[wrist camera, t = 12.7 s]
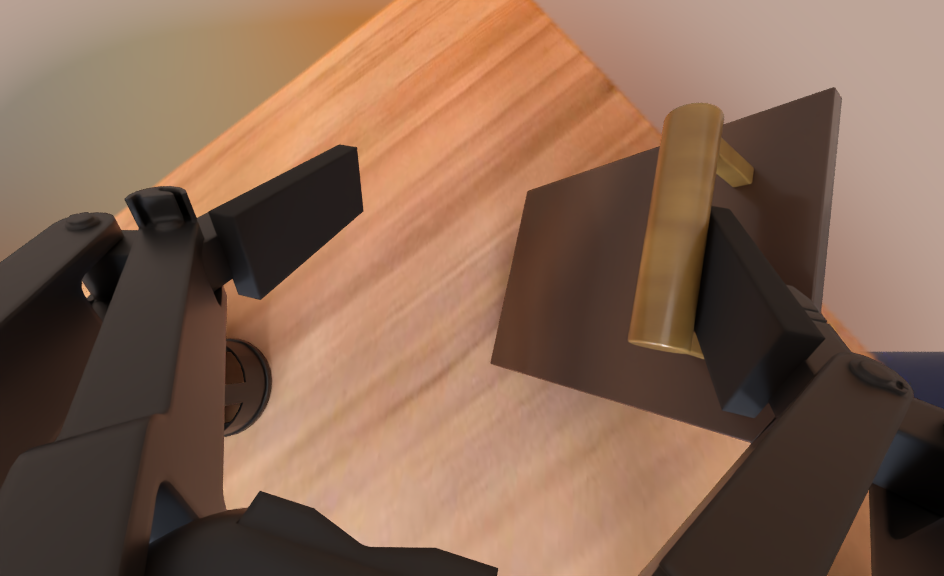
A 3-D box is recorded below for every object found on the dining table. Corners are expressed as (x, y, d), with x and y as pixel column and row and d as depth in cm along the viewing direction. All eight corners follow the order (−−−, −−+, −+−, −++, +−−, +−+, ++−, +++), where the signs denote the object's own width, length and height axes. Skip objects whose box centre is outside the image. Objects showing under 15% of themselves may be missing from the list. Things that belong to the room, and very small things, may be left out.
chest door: (843, 97, 14) (777, -4, 11) (807, 458, 12) (719, 450, 9) (535, 194, 28) (472, 162, 25) (499, 365, 26) (427, 351, 23)
